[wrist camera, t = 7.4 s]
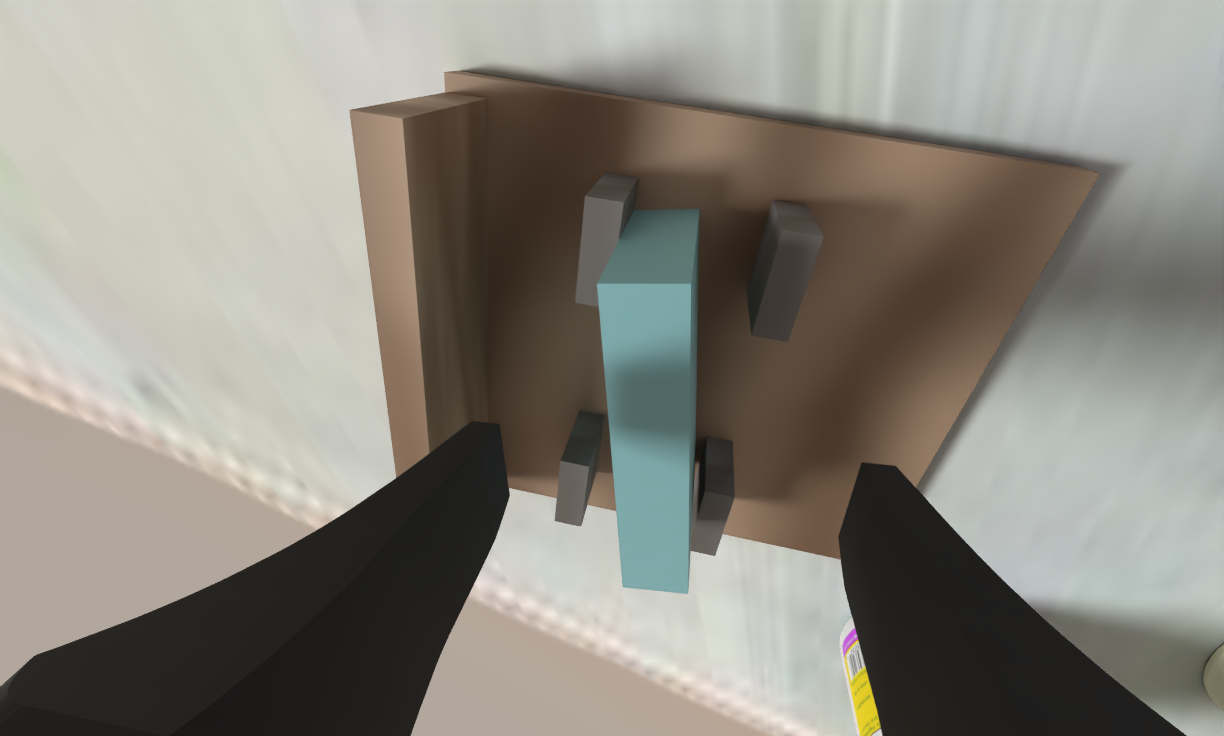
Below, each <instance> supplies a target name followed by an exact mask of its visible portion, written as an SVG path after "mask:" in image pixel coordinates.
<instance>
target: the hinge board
mask: <svg viewBox="0 0 1224 736" xmlns="http://www.w3.org/2000/svg"><path fill="white" fill-rule="evenodd" d="M444 76H445V93H440V94H435V95H429V96H424V97H418V98H413V99H407V100H402V101H396V102H391V103H385V104H380V105H374V106H369V107H363V108H358V109H352V110H350V118H351V126H352V134H353V142H354V149H355V157H356V165H357V173H358V181H359V189H360V196H361V204H362V212H363V220H364V228H365V235H366V243H367V251H368V259H369V267H370V275H371V282H372V290H373V298H374V306H375V314H376V322H377V329H378V337H379V345H380V353H381V361H382V369H383V376H384V384H385V392H386V400H387V408H388V416H389V423H390V431H391V439H392V447H393V455H394V463H395V470H396V478H397V477H398V476H400V475H401V474H402V473H404V472H405V471H406V470H408V469H409V468H410V467H412V466H413V465H415V464H416V463H417V462H419V461H420V460H421V459H423V458H424V457H425V456H427V455H428V454H429V453H431V452H432V451H433V450H434V449H436V448H437V447H438V446H440V445H441V444H442V443H444V442H445V441H446V440H447V439H449V438H450V437H451V436H453V435H454V434H455V433H457V432H458V431H459V430H461V429H462V428H463V427H465V426H466V425H468V424H469V423H470V422H472V421H476V422H486V423H495V424H500V430H501V437H502V444H503V451H504V458H505V465H506V472H507V480H508V487H509V488H512V489H517V490H522V491H526V492H531V493H536V494H540V495H545V496H549V497H554V498H557V503H556V514H555V521H558V522H562V523H567V524H572V525H576V526H581V525H582V521H583V518H584V514H585V511H586V507H587V505H591V506H596V507H600V508H605V509H610V510H614V511H616V501H615V489H614V477H613V465H612V454H611V442H610V430H609V419H608V407H607V395H606V383H605V372H604V360H603V348H602V336H601V325H600V313H599V301H598V290H597V283H598V281H599V279H600V277H601V275H602V273H603V271H604V269H605V267H606V265H607V263H608V261H609V259H610V257H611V255H612V253H613V251H614V249H615V247H616V245H617V243H618V241H619V239H620V237H621V235H622V233H623V231H624V229H625V227H626V225H627V223H628V221H629V219H630V217H631V215H632V213H633V211H634V210H665V209H700V211H699V271H698V330H697V390H696V450H695V477H694V495H693V514H692V532H691V550H690V551H695V552H699V553H704V554H708V555H713V556H715V554H716V551H717V548H718V545H719V542H720V539H721V537H722V534H725V535H730V536H735V537H739V538H744V539H749V540H753V541H758V542H762V543H767V544H772V545H776V546H781V547H786V548H790V549H795V550H800V551H804V552H809V553H813V554H818V555H823V556H827V557H832V558H837V559H841V557H840V548H839V540H838V536H839V533H840V530H841V526H842V523H843V520H844V517H845V513H846V510H847V507H848V504H849V501H850V497H851V494H852V491H853V488H854V485H855V481H856V478H857V475H858V472H859V468H860V465H861V462H864V463H874V464H883V465H893V466H896V467H897V468H898V469H899V470H900V471H901V472H902V473H903V474H904V475H905V476H906V477H907V478H908V480H909V481H910V482H911V483H912V484H913V485H914V486H915V487H916V486H917V485H918V483H919V481H920V480H921V478H922V476H923V475H924V473H925V471H926V469H927V468H928V466H929V464H930V463H931V461H932V459H933V457H934V456H935V454H936V452H937V451H938V449H939V447H940V446H941V444H942V442H943V440H944V439H945V437H946V435H947V434H948V432H949V430H950V428H951V427H952V425H953V423H954V422H955V420H956V418H957V417H958V415H959V413H960V411H961V410H962V408H963V406H964V405H965V403H966V401H967V399H968V398H969V396H970V394H971V393H972V391H973V389H974V388H975V386H976V384H977V382H978V381H979V379H980V377H981V376H982V374H983V372H984V370H985V369H986V367H987V365H988V364H989V362H990V360H991V359H992V357H993V355H994V353H995V352H996V350H997V348H998V347H999V345H1000V343H1001V341H1002V340H1003V338H1004V336H1005V335H1006V333H1007V331H1008V330H1009V328H1010V326H1011V324H1012V323H1013V321H1014V319H1015V318H1016V316H1017V314H1018V312H1019V311H1020V309H1021V307H1022V306H1023V304H1024V302H1025V300H1026V299H1027V297H1028V295H1029V294H1030V292H1031V290H1032V289H1033V287H1034V285H1035V283H1036V282H1037V280H1038V278H1039V277H1040V275H1041V273H1042V271H1043V270H1044V268H1045V266H1046V265H1047V263H1048V261H1049V260H1050V258H1051V256H1052V254H1053V253H1054V251H1055V249H1056V248H1057V246H1058V244H1059V242H1060V241H1061V239H1062V237H1063V236H1064V234H1065V232H1066V231H1067V229H1068V227H1069V225H1070V224H1071V222H1072V220H1073V219H1074V217H1075V215H1076V213H1077V212H1078V210H1079V208H1080V207H1081V205H1082V203H1083V202H1084V200H1085V198H1086V196H1087V195H1088V193H1089V191H1090V190H1091V188H1092V186H1093V184H1094V183H1095V181H1096V179H1097V178H1098V176H1099V174H1100V173H1097V172H1094V171H1091V170H1089V169H1086V168H1083V167H1080V166H1075V165H1069V164H1062V163H1056V162H1049V161H1042V160H1036V159H1029V158H1023V157H1016V156H1010V155H1003V154H997V153H990V152H984V151H977V150H971V149H964V148H958V147H951V146H945V145H938V144H932V143H925V142H919V141H912V140H906V139H899V138H893V137H886V136H880V135H873V134H867V133H860V132H854V131H847V130H841V129H834V128H828V127H821V126H815V125H808V124H802V123H795V122H789V121H782V120H776V119H769V118H763V117H756V116H750V115H743V114H737V113H730V112H724V111H717V110H711V109H704V108H698V107H691V106H685V105H678V104H672V103H665V102H659V101H652V100H646V99H639V98H633V97H626V96H620V95H613V94H607V93H600V92H594V91H587V90H581V89H574V88H568V87H561V86H555V85H548V84H542V83H535V82H529V81H522V80H516V79H509V78H503V77H496V76H490V75H483V74H477V73H470V72H464V71H451V72H444Z"/></svg>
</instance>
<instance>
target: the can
mask: <svg viewBox="0 0 1224 736" xmlns="http://www.w3.org/2000/svg"><path fill="white" fill-rule="evenodd" d="M1203 682H1204V686H1205V689H1206V691H1207V693H1208V695H1209V697H1210V698H1211V699H1212V701H1213V702H1214V703H1215V704H1216V705H1217V706H1218V707H1219V708H1220V709H1222V710H1223V711H1224V644H1223V645H1222V646H1220V647H1219V648H1218V649H1217V650H1216V651H1215V653H1214V654H1213V655H1212V656H1211V657H1210V659H1209V661H1208V663H1207V664H1206V666H1205V669H1204V674H1203Z"/></svg>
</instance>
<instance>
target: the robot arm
mask: <svg viewBox="0 0 1224 736" xmlns="http://www.w3.org/2000/svg"><path fill="white" fill-rule="evenodd" d="M509 496H510V494H509V487H508V480H507V472H506V465H505V458H504V451H503V444H502V437H501V430H500V424H495V423H486V422H476V421H472V422H470V423H469V424H468V425H466V426H465V427H463V428H462V429H461V430H459V431H458V432H457V433H455V434H454V435H453V436H451V437H450V438H449V439H447V440H446V441H445V442H444V443H442V444H441V445H440V446H438V447H437V448H436V449H434V450H433V451H432V452H431V453H429V454H428V455H427V456H425V457H424V458H423V459H421V460H420V461H419V462H417V463H416V464H415V465H413V466H412V467H410V468H409V469H408V470H406V471H405V472H404V473H402V474H401V475H400V476H398V477H397V478H396V479H394V480H393V481H392V482H390V483H389V484H387V485H386V486H384V487H383V488H381V489H380V490H378V491H377V492H375V493H374V494H372V495H371V496H369V497H368V498H367V499H365V500H364V501H362V502H361V503H359V504H358V505H356V506H355V507H353V508H352V509H350V510H349V511H347V512H346V513H344V514H343V515H341V516H340V517H338V518H336V519H335V520H333V521H331V522H330V523H328V524H327V525H325V526H323V527H322V528H320V529H318V530H316V531H315V532H313V533H311V534H310V535H308V536H306V537H305V538H303V539H301V540H299V541H297V542H296V543H294V544H292V545H290V546H289V547H287V548H285V549H283V550H281V551H279V552H277V553H276V554H273V555H271V556H269V557H267V558H265V559H263V560H261V561H260V562H258V563H256V564H254V565H252V566H250V567H248V568H246V569H244V570H242V571H240V572H238V573H236V574H234V575H232V576H230V577H228V578H226V579H224V580H222V581H220V582H217V583H215V584H213V585H211V586H209V587H206V588H204V589H202V590H200V591H198V592H195V593H193V594H191V595H189V596H187V597H184V598H182V599H180V600H177V601H175V602H173V603H170V604H168V605H166V606H163V607H161V608H158V609H156V610H154V611H152V612H149V613H147V614H144V615H142V616H139V617H137V618H134V619H132V620H129V621H127V622H124V623H121V624H119V625H116V626H113V627H111V628H108V629H105V630H103V631H100V632H98V633H95V634H92V635H89V636H87V637H84V638H81V639H79V640H76V641H74V642H71V643H68V644H65V645H63V646H60V647H58V648H55V649H52V650H49V651H46V652H43V653H41V654H38V655H36V656H34V657H33V658H32V659H30V660H29V661H28V662H27V663H26V664H25V665H24V666H23V667H22V668H21V669H19V671H17V672H16V673H15V674H14V675H13V676H12V677H11V678H10V679H8V680H7V681H6V682H5V683H4V684H3V685H2V686H1V687H0V736H411V733H412V730H413V727H414V724H415V721H416V719H417V716H418V713H419V710H420V707H421V704H422V702H423V699H424V697H425V694H426V691H427V688H428V686H429V683H430V680H431V678H432V675H433V672H434V670H435V667H436V664H437V662H438V659H439V657H440V655H441V652H442V650H443V648H444V645H445V643H446V641H447V639H448V636H449V634H450V632H451V630H452V628H453V626H454V624H455V622H456V620H457V618H458V616H459V613H460V612H461V610H462V608H463V605H464V603H465V601H466V599H467V597H468V595H469V593H470V591H471V589H472V587H473V585H474V583H475V581H476V579H477V577H478V575H479V573H480V570H481V568H482V566H483V564H484V562H485V560H486V558H487V556H488V554H489V552H490V549H491V547H492V545H493V543H494V541H495V538H496V536H497V533H498V530H499V527H500V524H501V521H502V518H503V515H504V512H505V509H506V506H507V503H508V500H509ZM838 540H839V548H840V557H841V565H842V572H843V579H844V586H845V591H846V595H847V599H848V603H849V607H850V610H851V614H852V618H853V622H854V626H855V630H856V634H857V637H858V641H859V645H860V649H861V652H862V656H863V660H864V664H865V667H866V671H867V675H868V679H869V682H870V686H871V690H872V694H873V698H874V701H875V705H876V709H877V713H878V718H879V722H880V727H881V731H882V736H1186V735H1185V734H1184V733H1182V732H1181V731H1180V730H1178V729H1177V728H1176V727H1175V726H1173V725H1172V724H1171V723H1169V722H1168V721H1167V720H1165V719H1164V718H1163V717H1161V716H1160V715H1159V714H1158V713H1156V712H1155V711H1154V710H1152V709H1151V708H1150V707H1148V706H1147V705H1146V704H1145V703H1143V702H1142V701H1141V700H1139V699H1138V698H1137V697H1135V696H1134V695H1133V694H1132V693H1131V692H1129V691H1128V690H1127V689H1126V688H1124V687H1123V686H1122V685H1121V684H1119V683H1118V682H1117V681H1116V680H1114V679H1113V678H1112V677H1111V676H1109V675H1108V674H1107V673H1106V672H1105V671H1103V670H1102V669H1101V668H1100V667H1099V666H1098V665H1096V664H1095V663H1094V662H1093V661H1092V660H1090V659H1089V658H1088V657H1087V656H1086V655H1085V654H1083V653H1082V652H1081V651H1080V650H1079V649H1078V648H1076V647H1075V646H1074V645H1073V644H1072V643H1071V642H1069V641H1068V640H1067V639H1066V638H1065V637H1064V636H1062V635H1061V634H1060V633H1059V632H1058V631H1057V630H1056V629H1054V628H1053V627H1052V626H1051V625H1050V624H1049V623H1048V622H1047V621H1046V620H1044V619H1043V618H1042V617H1041V616H1040V615H1039V614H1038V613H1037V612H1036V611H1035V610H1034V609H1033V608H1031V607H1030V606H1029V605H1028V604H1027V603H1026V602H1025V601H1024V600H1023V599H1022V598H1021V597H1020V596H1019V595H1018V594H1017V593H1016V592H1015V591H1014V590H1013V589H1012V588H1011V587H1009V586H1008V585H1007V584H1006V583H1005V582H1004V581H1003V580H1002V579H1001V578H1000V577H999V576H998V575H997V574H996V573H995V572H994V571H993V570H992V569H991V568H990V567H989V566H988V565H987V564H986V563H985V562H984V561H983V560H982V559H981V558H980V557H979V556H978V555H977V554H976V553H975V551H974V550H973V549H972V548H971V547H970V546H969V545H968V544H967V543H966V542H965V541H964V540H963V539H962V538H961V537H960V536H959V535H958V534H957V532H956V531H955V530H954V529H953V528H952V527H951V526H950V525H949V524H948V523H947V522H946V521H945V519H944V518H943V517H942V516H941V515H940V514H939V513H938V512H937V511H936V510H935V508H934V507H933V506H932V505H931V504H930V503H929V502H928V501H927V500H926V499H925V497H924V496H923V495H922V494H921V493H920V492H919V491H918V490H917V488H916V487H915V486H914V485H913V484H912V483H911V482H910V481H909V480H908V478H907V477H906V476H905V475H904V474H903V473H902V472H901V471H900V470H899V469H898V468H897V467H896V466H893V465H883V464H874V463H864V462H861V465H860V468H859V472H858V475H857V478H856V481H855V485H854V488H853V491H852V494H851V497H850V501H849V504H848V507H847V510H846V513H845V517H844V520H843V523H842V526H841V530H840V533H839V536H838Z"/></svg>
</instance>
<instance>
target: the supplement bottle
mask: <svg viewBox="0 0 1224 736" xmlns="http://www.w3.org/2000/svg"><path fill="white" fill-rule="evenodd" d="M840 652H841V657H842V662H843V667H844V672H845V678H846V682H847V687H848V692H849V697H850V702H851V707H852V711H853V716H854V721H855V726H856V731H857V736H882V731H881V727H880V722H879V718H878V713H877V709H876V705H875V701H874V698H873V694H872V690H871V686H870V682H869V679H868V675H867V671H866V667H865V664H864V660H863V656H862V652H861V649H860V645H859V641H858V637H857V634H856V630H855V626H854V622H853V618H852V617H851V618H850V619H849V620H848V621H847V622H846V624H845V625H844V627H843V630H842V632H841V636H840Z"/></svg>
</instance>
